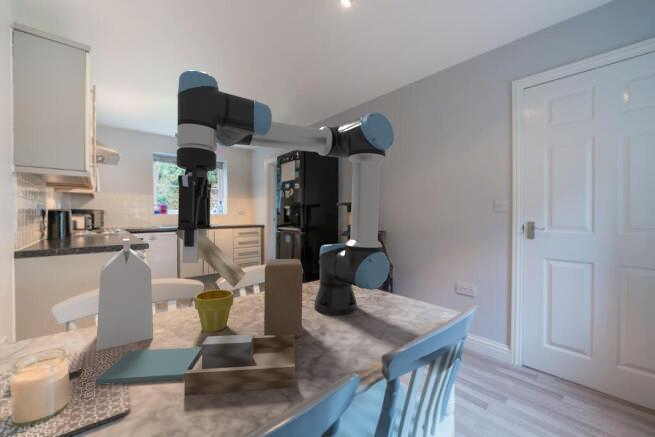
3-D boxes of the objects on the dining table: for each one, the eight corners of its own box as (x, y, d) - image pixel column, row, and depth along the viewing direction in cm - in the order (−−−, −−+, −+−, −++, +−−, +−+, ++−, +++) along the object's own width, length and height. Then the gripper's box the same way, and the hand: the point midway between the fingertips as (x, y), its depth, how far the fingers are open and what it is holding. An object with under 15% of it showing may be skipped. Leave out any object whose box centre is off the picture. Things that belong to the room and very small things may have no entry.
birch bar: (237, 281, 60) (246, 273, 61) (233, 287, 55) (242, 278, 56) (184, 231, 58) (193, 223, 59) (174, 233, 54) (184, 224, 54)
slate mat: (202, 351, 64) (202, 347, 64) (183, 379, 54) (183, 374, 54) (129, 355, 62) (129, 350, 62) (95, 384, 51) (95, 379, 51)
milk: (99, 333, 74) (99, 238, 73) (149, 323, 81) (150, 237, 80) (96, 351, 64) (96, 242, 64) (153, 338, 71) (153, 240, 71)
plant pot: (219, 337, 72) (220, 300, 72) (186, 333, 74) (186, 298, 74) (239, 322, 82) (240, 290, 82) (209, 319, 84) (210, 288, 84)
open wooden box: (294, 350, 65) (294, 323, 65) (294, 387, 51) (295, 352, 51) (208, 355, 63) (208, 326, 63) (184, 395, 49) (184, 358, 49)
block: (302, 338, 72) (302, 264, 72) (263, 341, 70) (264, 265, 70) (299, 323, 82) (300, 258, 81) (266, 325, 80) (266, 258, 80)
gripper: (193, 158, 65) (191, 254, 65) (157, 136, 47) (155, 268, 47) (225, 160, 66) (223, 254, 66) (202, 139, 48) (200, 268, 48)
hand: (195, 260), depth 57 cm, fingers closed on birch bar, 5 cm apart
